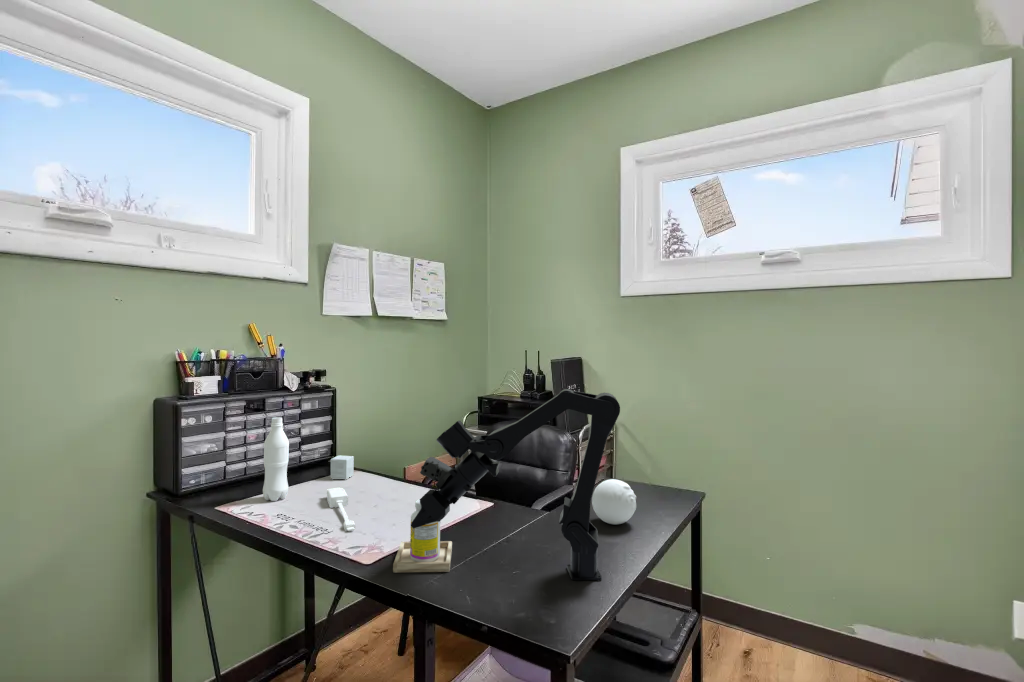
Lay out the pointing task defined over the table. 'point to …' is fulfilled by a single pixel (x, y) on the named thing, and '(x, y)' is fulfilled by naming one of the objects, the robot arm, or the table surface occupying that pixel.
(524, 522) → the table surface
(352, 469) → the product box
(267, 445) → the water bottle
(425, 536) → the supplement bottle
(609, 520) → the decorative ball
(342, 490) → the white toy mallet
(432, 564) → the tray
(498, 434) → the robot arm
